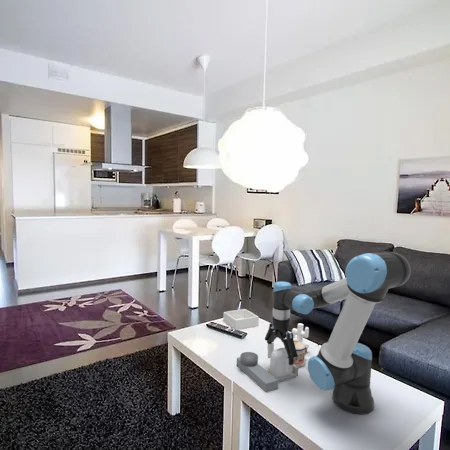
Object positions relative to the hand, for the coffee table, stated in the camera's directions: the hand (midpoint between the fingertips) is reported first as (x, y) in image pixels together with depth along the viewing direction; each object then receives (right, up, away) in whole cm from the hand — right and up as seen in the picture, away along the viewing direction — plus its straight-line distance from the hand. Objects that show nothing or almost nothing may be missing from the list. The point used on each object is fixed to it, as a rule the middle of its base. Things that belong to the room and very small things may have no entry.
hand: (279, 364), depth 147 cm
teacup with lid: (+11, -5, +13) cm, 18 cm away
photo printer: (0, -5, 0) cm, 5 cm away
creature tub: (-14, 0, +61) cm, 62 cm away
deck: (-5, -5, +3) cm, 7 cm away
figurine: (+14, -4, +24) cm, 28 cm away
